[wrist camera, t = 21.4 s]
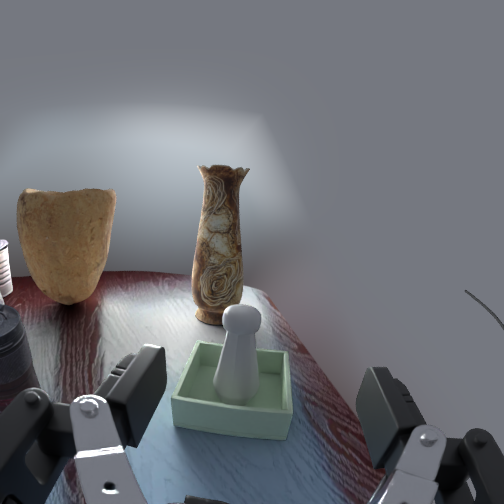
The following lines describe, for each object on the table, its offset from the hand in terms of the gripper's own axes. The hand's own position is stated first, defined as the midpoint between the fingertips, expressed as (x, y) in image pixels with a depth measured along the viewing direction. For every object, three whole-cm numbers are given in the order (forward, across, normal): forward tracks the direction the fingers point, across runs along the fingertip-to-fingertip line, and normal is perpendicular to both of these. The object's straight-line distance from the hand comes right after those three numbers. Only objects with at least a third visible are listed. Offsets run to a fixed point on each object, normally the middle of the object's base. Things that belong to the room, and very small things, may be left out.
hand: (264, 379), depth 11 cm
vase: (+46, +10, +20) cm, 51 cm away
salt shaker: (+20, +2, +20) cm, 28 cm away
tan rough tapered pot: (+40, +41, +20) cm, 61 cm away
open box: (+20, +2, +20) cm, 29 cm away
